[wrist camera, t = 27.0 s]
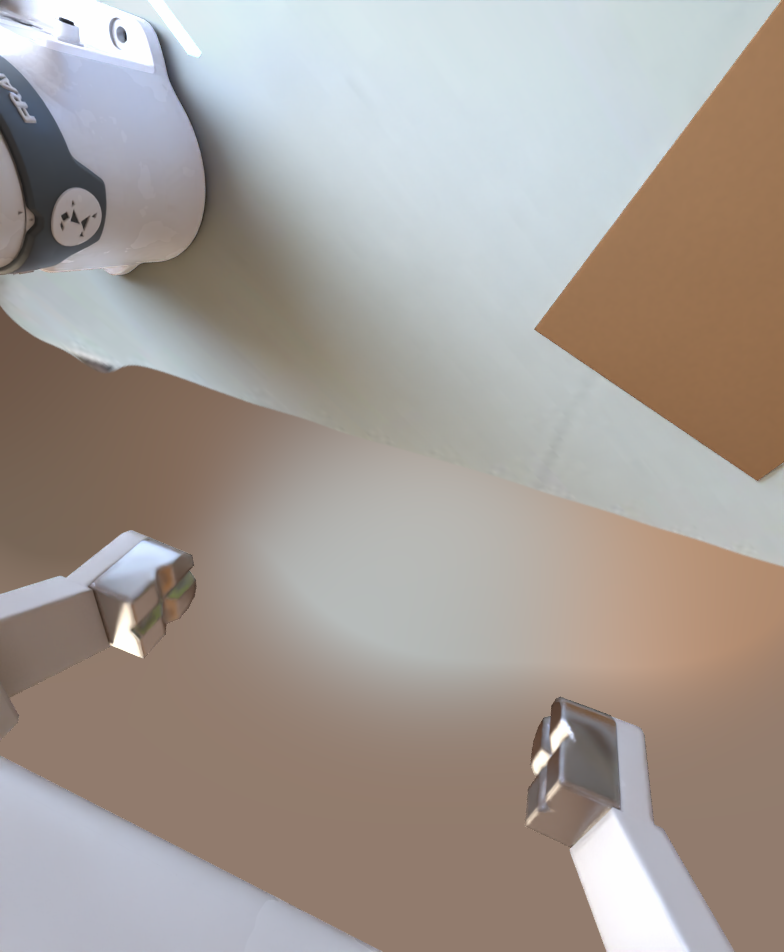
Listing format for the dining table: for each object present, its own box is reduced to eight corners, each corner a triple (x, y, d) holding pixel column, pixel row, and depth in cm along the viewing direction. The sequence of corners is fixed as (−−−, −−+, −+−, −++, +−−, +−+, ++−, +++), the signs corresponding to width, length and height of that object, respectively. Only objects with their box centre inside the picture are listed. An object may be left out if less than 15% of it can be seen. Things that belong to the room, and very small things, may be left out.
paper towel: (534, 328, 36) (534, 329, 36) (793, -17, 24) (795, -18, 23) (756, 479, 36) (757, 481, 36) (1122, 216, 24) (1126, 216, 24)
